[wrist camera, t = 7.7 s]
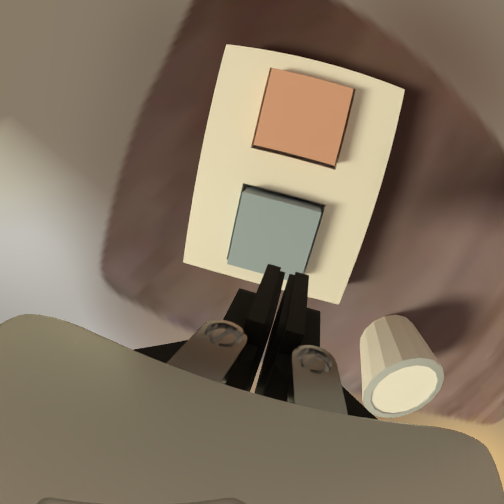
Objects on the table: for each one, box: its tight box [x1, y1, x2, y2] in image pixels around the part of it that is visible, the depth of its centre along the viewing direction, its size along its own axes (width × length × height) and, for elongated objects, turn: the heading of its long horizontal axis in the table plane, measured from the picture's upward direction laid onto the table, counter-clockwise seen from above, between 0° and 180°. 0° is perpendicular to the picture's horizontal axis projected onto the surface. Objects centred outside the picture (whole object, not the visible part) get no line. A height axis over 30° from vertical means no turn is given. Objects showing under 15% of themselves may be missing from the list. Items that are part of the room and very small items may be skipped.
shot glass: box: [360, 315, 444, 418], centre depth 22 cm, size 7×7×7 cm
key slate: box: [227, 186, 321, 280], centre depth 20 cm, size 5×5×2 cm
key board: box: [183, 44, 405, 304], centre depth 20 cm, size 12×16×3 cm
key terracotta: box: [254, 68, 353, 166], centre depth 17 cm, size 5×5×2 cm
